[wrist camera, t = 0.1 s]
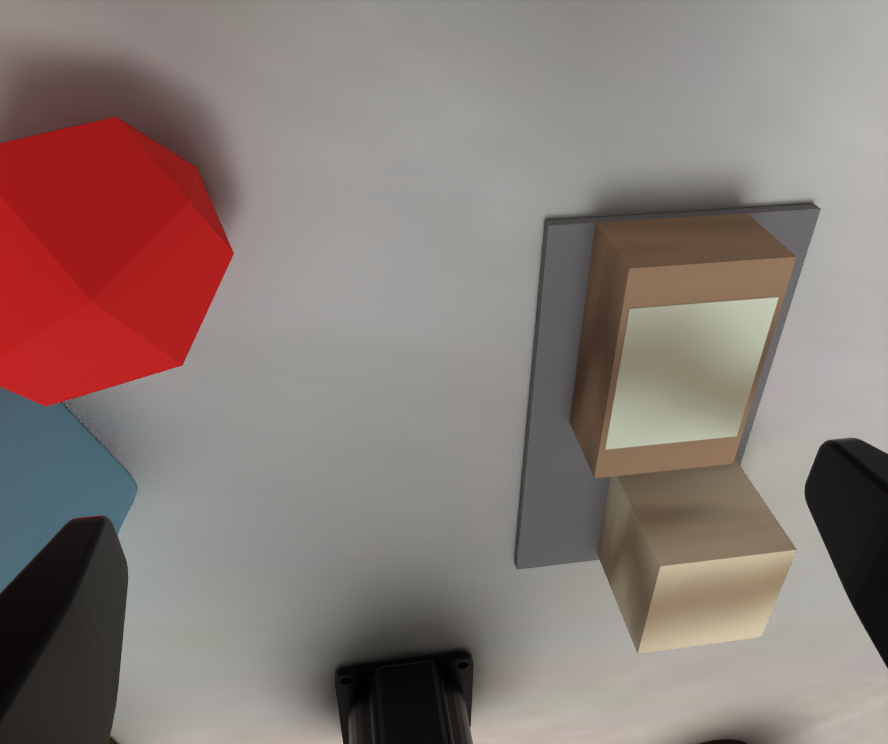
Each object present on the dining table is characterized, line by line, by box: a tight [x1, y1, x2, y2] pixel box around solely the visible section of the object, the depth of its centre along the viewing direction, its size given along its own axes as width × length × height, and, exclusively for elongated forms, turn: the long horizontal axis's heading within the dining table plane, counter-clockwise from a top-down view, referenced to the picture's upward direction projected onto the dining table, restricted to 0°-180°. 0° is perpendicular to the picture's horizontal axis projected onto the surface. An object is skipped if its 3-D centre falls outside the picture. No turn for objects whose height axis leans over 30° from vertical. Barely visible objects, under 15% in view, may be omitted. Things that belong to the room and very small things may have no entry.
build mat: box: [515, 204, 820, 569], centre depth 29 cm, size 16×9×1 cm, turn 0°
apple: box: [0, 117, 234, 406], centre depth 19 cm, size 7×7×8 cm
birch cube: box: [597, 459, 797, 654], centre depth 30 cm, size 5×5×5 cm
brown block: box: [570, 213, 797, 478], centre depth 25 cm, size 8×5×3 cm, turn 0°
